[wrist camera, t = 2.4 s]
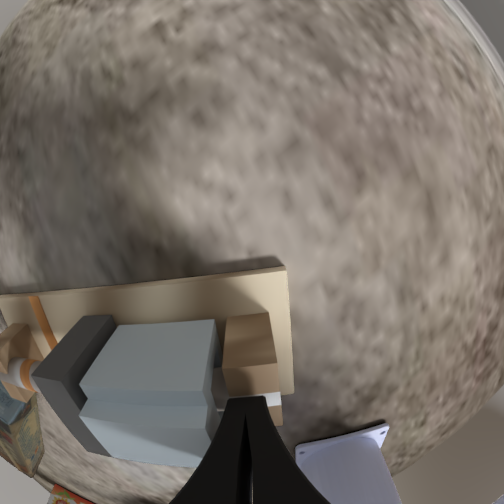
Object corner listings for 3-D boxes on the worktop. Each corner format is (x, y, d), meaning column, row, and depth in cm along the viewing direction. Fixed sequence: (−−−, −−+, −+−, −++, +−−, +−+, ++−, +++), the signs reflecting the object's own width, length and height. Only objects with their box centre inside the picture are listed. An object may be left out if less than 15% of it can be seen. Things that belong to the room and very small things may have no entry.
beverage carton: (41, 385, 16) (7, 434, 9) (48, 451, 20) (33, 483, 14) (-16, 334, 14) (-54, 370, 8) (5, 419, 19) (-13, 447, 13)
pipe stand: (284, 265, 13) (304, 313, 8) (292, 387, 15) (305, 444, 11) (1, 295, 13) (-37, 322, 9) (42, 381, 15) (18, 415, 11)
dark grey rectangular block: (111, 314, 12) (61, 381, 7) (143, 389, 14) (118, 458, 9) (83, 315, 12) (30, 375, 7) (116, 387, 14) (87, 451, 9)
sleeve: (214, 318, 12) (198, 413, 7) (230, 388, 13) (227, 475, 8) (119, 324, 12) (68, 400, 7) (147, 389, 13) (120, 465, 8)
